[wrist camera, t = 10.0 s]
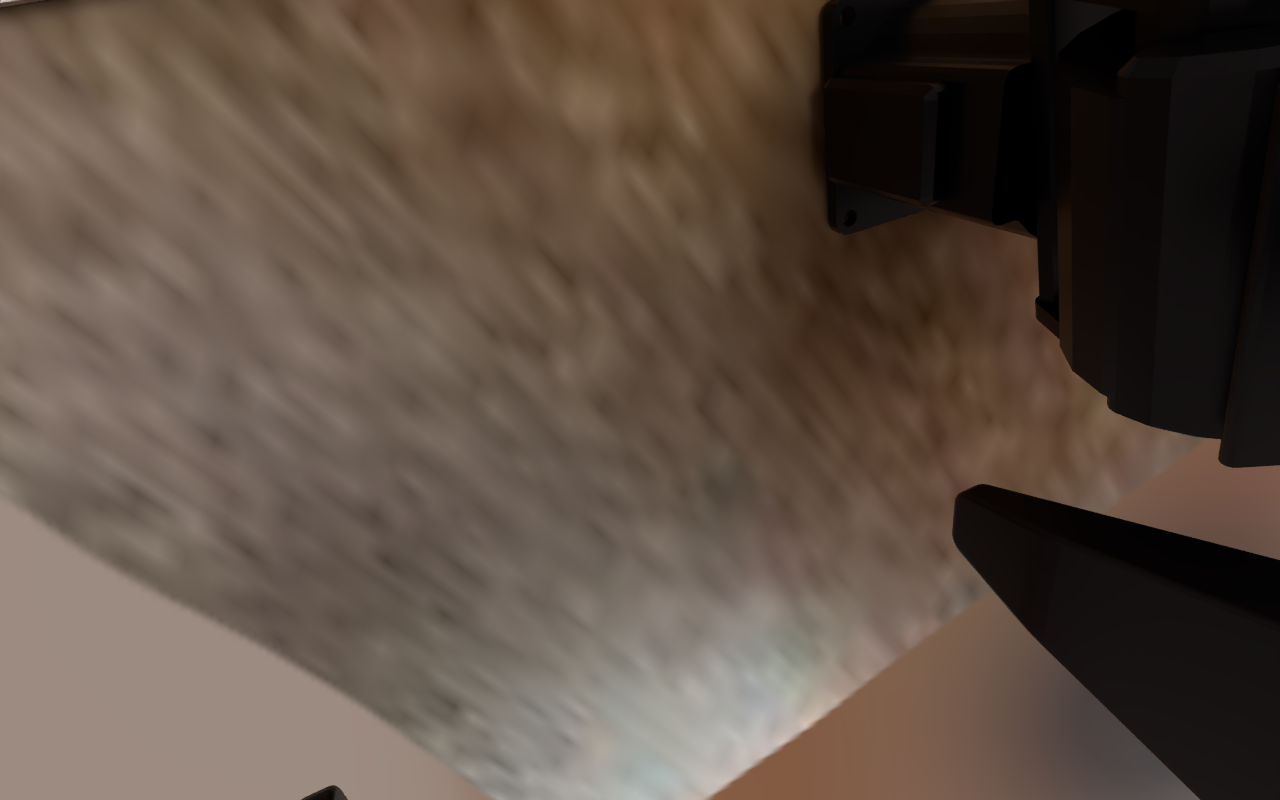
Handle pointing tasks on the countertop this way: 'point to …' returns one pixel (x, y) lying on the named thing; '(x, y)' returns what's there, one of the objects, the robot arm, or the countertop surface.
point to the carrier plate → (15, 2)
